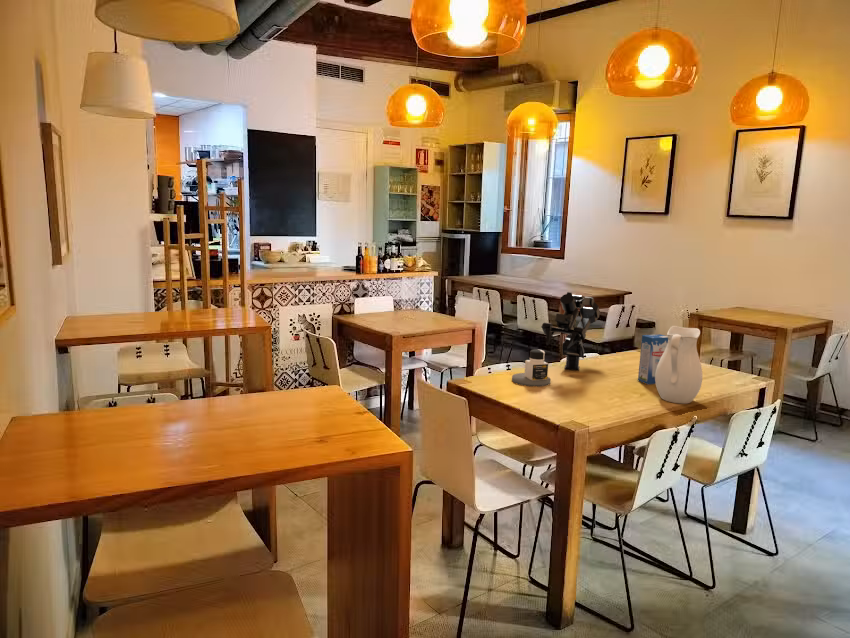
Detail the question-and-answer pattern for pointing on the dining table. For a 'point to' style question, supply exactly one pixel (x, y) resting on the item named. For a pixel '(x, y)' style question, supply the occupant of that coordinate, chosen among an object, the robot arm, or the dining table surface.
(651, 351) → the milk carton
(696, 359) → the pitcher
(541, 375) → the medicine bottle
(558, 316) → the robot arm
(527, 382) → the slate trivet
